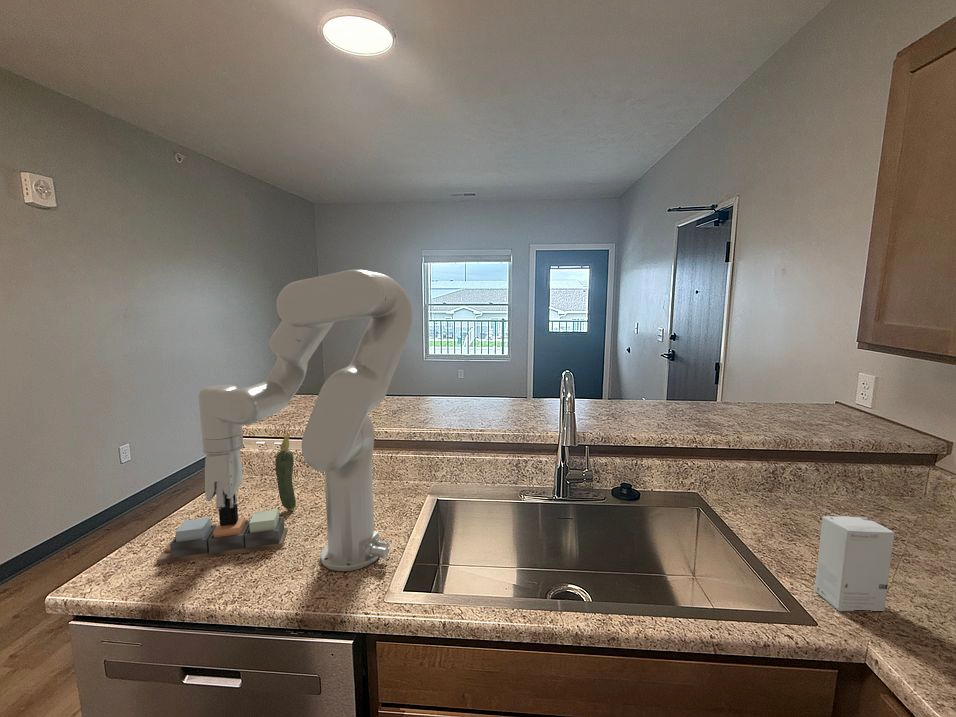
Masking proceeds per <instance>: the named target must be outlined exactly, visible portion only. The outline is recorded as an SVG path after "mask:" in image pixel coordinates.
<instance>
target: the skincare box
mask: <svg viewBox="0 0 956 717" xmlns="http://www.w3.org/2000/svg"><path fill="white" fill-rule="evenodd" d="M894 538H895V532H894V530H891V529H889V528H887V527H885V526H883V525H881V524H880V523H877V522H876V521H874V520H872V519H871V518H868V517H858V516H847V515H845V516H844V515H840V516H836V515H835V516H832V515H831V516H830V515H829V516H828V515H826V516H825V515H822V518H821V529H820V538H819V539H820V540H819V547H818V554H817V555H818V556H817V564H816V566H817V567H816V575H815V582H814V583H815V584H814V591H815V592H816V593H817V594H818V595H819V596H821V597H822V598H823V599H824V600H825V601H826V602H827V603H828V604H831V606H832V607H833V608H834V609H835V608H836V609H835V610H836V611H837V610H838V611H837V612H843V611H844V612H855V611H854V610H876V611H884V610H885V609H886V603H887V602H886V601H887V594H888V587H889V586H888V585H889V579H890V578H889V577H890V568H891V564H892V563H891V562H892V554H893V546H894V540H895V539H894ZM884 612H885V611H884Z"/></svg>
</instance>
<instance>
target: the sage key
mask: <svg viewBox="0 0 956 717" xmlns="http://www.w3.org/2000/svg"><path fill="white" fill-rule="evenodd" d="M279 517H280V512H279V509H271V510H264V511H261V510H260V511H254V513H253V515H252V517H251V518H250V519H249V520H250V522H249V526H250V533H255V532H263V531H271V530H276V529H277V527H278V524H279Z"/></svg>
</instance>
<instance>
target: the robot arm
mask: <svg viewBox="0 0 956 717" xmlns="http://www.w3.org/2000/svg"><path fill="white" fill-rule="evenodd" d="M276 311H277V314H278V316H279V318H280V319H281V321H280V322H279V325H278V326H277V327H276V329H275V330H274V332H273V333H272V335H271V336H270V338H269V341H268V345H269V348H270V349H271V351H272V352H273V353H274V355H276V356H277V358H276V361H275V363H274V366H273V367H272V369H271V371H270V372H269V373H268V375H267V376H266V378H264V380H263V381H262V382H259V383H256V384H252V385H249V386H244V387H242V388H239V387H237V386H236V385H233V384H216V385H215V384H214V385H209V386H205V387H203V388H201V389H200V391H199V393H198V405H199V416H200V417H199V418H200V430H201V442H202V454H204V455H205V460H204V461H205V462H204V489H205V490H204V493H205V500H206V502H211V501H212V500H213V499H214V497H215V496H216V497H215V498H216V499H215V500H216V501H215V502H216V503H215V505H216V509H218V516H219V517H218V518H219V521H220V526H227V525H235V524H236V523H237V521H238V518H239V511H238V489H239V488H240V487H241V485H242V482H243V465H242V457H241V450H242V449H243V448H244V434H243V426H248V425H252V424H255V423H257V422H260V421H262V420H265V419H266V418H269V417H270V416H273V415H276V414H277V413H280V412H281V411H282V410H283V409H285V408H286V407H287V406H288V404H289V403H290V402H291V401H292V400H293V398H294V396H295V395H296V394H297V392H298V390H299V389H300V387H301V386H302V384H303V382H304V380H305V377H306V374H307V370H308V368H309V367H308V363H309V361H310V359H311V358H312V356H313V355H314V353H315V351H317V349H318V347H319V346H320V344H321V342H322V341H323V340H324V339H325V337H326V336H327V334H329V331H330V330H331V328H332V327H333V326H334V324H335V323H336V322H341V321H345V320H352V319H358V318H366V317H370V319H369V323H368V324H367V327H366V328H365V331H364V332H363V334H362V335H361V337H360V339H359V343H358V346H357V349H356V351H355V354H354V356H353V357H352V360H351V362H350V363H349V365H347V366H346V367H343V368H340V369H338V370H336V371H335V372H333V373H332V374H331V375H330V376H329V377H328V378H327V379H326V380H325V381H324V383H323V385H322V386H321V388H320V390H319V393H318V394H317V398H316V400H315V403H314V406H313V408H312V411H311V412H310V413H311V414H310V416H309V419H308V422H307V423H306V427H305V429H304V432H303V435H302V438H301V439H302V440H301V454H302V456H303V458H304V460H305V462H306V464H307V465H308V466H309V467H310V468H312V469H313V470H315V471H317V472H322V473H324V484H325V485H324V489H325V490H324V491H325V493H324V494H325V511H326V512H325V514H326V529H327V530H326V531H327V532H326V533H327V535H326V536H327V544H326V545H324V547H323V548H322V550H321V551H320V562H321V564H322V565H323V567H326V568H327V569H328V570H331V571H335V572H349V571H350V572H351V571H357V570H359V569H363V568H366V567H367V566H369V565H371V564H372V563H374V562H376V561H377V560H378V559H379V558H383V559H386V558H387V557H388V555H389V547H390V542H389V541H385V540H383V541H382V540H380V538H379V534H380V533H379V531H376V530H375V520H374V519H375V518H374V491H373V483H374V482H373V455H374V454H373V453H374V446H375V428H374V424H373V420H372V419H371V418H370V416H369V415H368V414H369V412H371V411H372V410H374V409H375V408H376V407H378V406H379V405H380V404H381V403H382V402H383V401H384V399H385V397H386V396H387V393H388V391H389V387H390V385H391V381H392V380H393V377H394V374H395V372H396V370H397V367H398V364H399V362H400V358H401V356H402V353H403V352H404V348H405V346H406V344H407V340H408V338H409V335H410V332H411V327H412V323H413V322H412V321H413V309H412V304H411V302H410V299H409V297H408V295H407V293H406V291H405V290H404V288H403V287H402V286H401V285H400V284H399V283H398V282H397V281H396V280H395V279H393V278H392V277H390V276H388V275H386V274H383V273H380V272H376V271H370V270H366V269H348V270H343V271H338V272H334V273H329V274H325V275H320V276H315V277H311V278H306V279H299V280H296V281H292V282H290V283H288V284H287V285H285V286H284V287H283V288H282V289H281V290H280V292H279V293H278V295H277V297H276Z"/></svg>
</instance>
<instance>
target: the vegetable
mask: <svg viewBox="0 0 956 717" xmlns="http://www.w3.org/2000/svg"><path fill="white" fill-rule="evenodd" d="M289 440H290V435H288V434H285V436H284V438H283V440H282V442H281V444H280V451H278V453H277V455H276V457H275V464H274V466H275V475H276V482H277V488H278V494H279V495H278V496H279V499H280V502H281V504H282V507H283V508H284V509H286V510H288V511H294V510H295V508H297V501H296V496H295V489H294V485H293V472H294V471H293V470H294V460H295V459H294V453H293V452H292V451H290V450H289V448H290V441H289Z"/></svg>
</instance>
